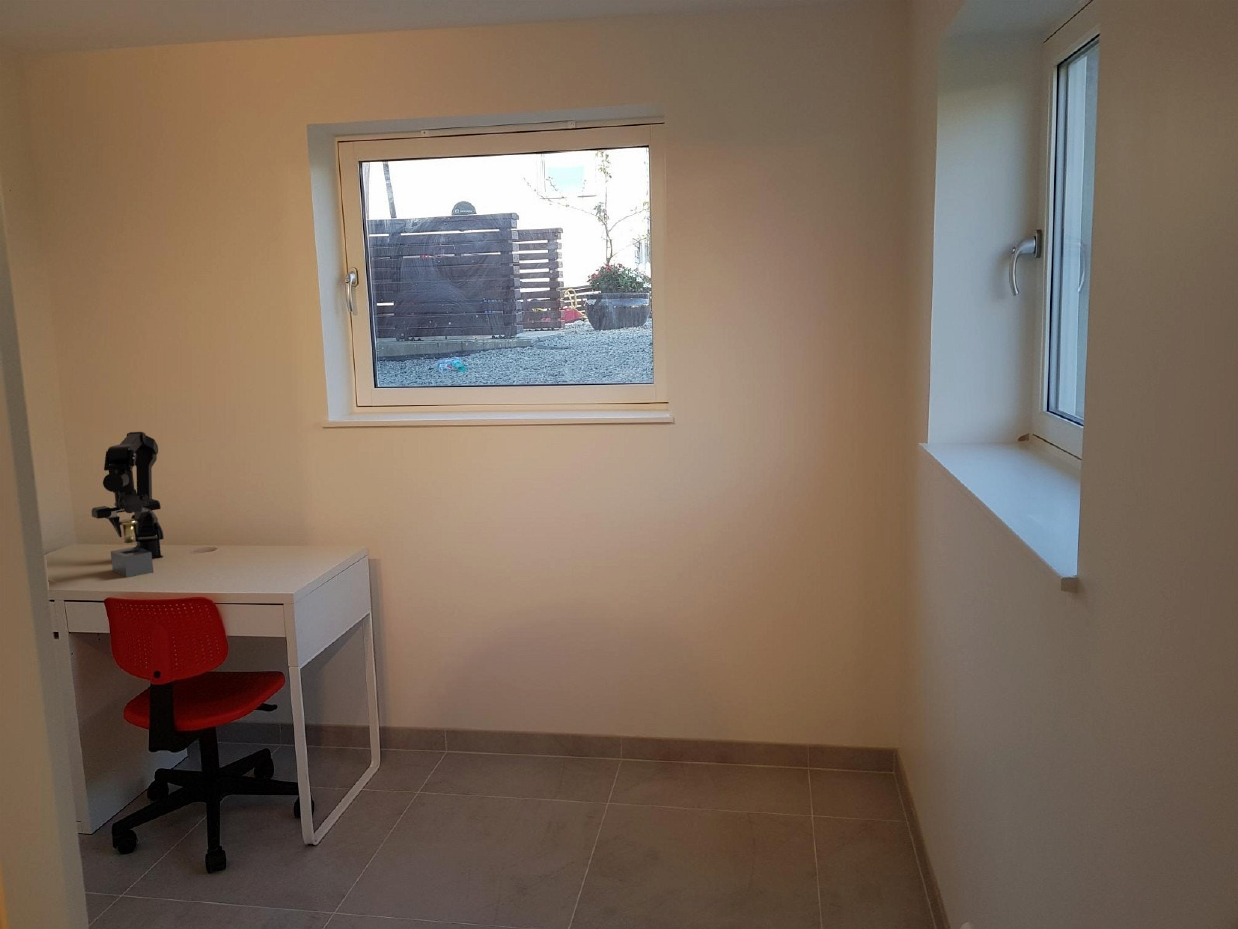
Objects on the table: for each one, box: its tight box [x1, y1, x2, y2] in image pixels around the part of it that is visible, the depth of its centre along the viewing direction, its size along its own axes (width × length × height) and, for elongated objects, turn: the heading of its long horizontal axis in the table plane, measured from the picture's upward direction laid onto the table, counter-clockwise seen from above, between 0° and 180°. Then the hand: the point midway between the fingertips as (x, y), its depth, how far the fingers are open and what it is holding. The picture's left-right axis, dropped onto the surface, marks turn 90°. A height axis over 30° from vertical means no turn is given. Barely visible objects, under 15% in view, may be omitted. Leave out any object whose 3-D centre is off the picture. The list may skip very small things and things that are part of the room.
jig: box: [110, 546, 154, 578], centre depth 311 cm, size 8×12×6 cm, turn 45°
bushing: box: [119, 518, 138, 544], centre depth 309 cm, size 6×6×7 cm
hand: (129, 535), depth 309 cm, fingers closed on bushing, 5 cm apart
